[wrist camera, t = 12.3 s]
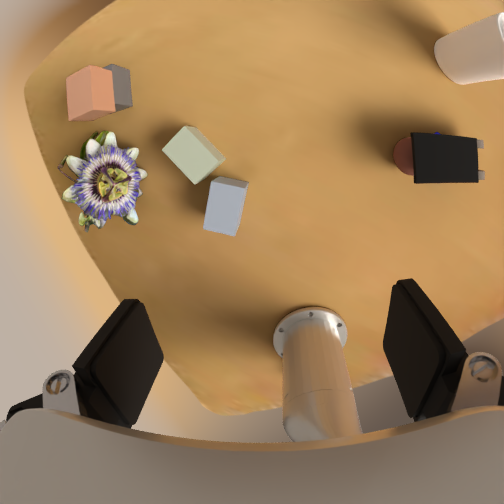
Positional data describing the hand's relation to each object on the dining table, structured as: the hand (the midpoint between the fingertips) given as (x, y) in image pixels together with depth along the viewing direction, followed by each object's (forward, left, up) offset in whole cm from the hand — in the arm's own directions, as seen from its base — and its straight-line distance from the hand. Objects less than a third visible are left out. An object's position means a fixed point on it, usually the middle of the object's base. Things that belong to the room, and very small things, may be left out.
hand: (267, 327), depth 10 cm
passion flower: (+5, +23, -29) cm, 37 cm away
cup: (+20, -31, -28) cm, 47 cm away
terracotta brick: (+17, +20, -23) cm, 35 cm away
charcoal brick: (+18, +20, -28) cm, 39 cm away
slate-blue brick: (-1, +6, -28) cm, 29 cm away
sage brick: (+6, +9, -28) cm, 30 cm away
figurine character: (+4, -24, -29) cm, 38 cm away
